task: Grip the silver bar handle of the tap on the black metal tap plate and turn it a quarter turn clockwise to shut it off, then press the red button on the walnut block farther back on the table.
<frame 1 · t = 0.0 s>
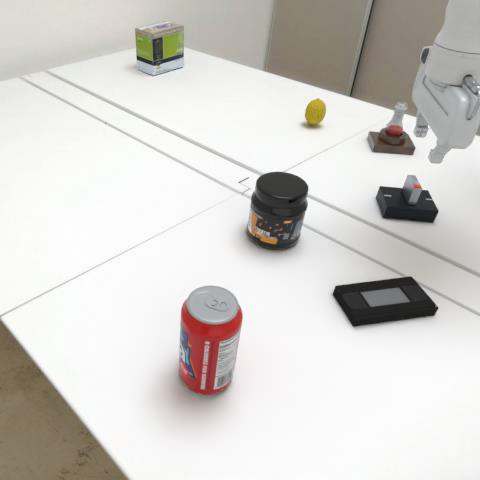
hand: (426, 148, 78), 20 cm above the table, tool pointing down, fingers open, 8 cm apart
tea box: (160, 69, 170), on the table
button block: (389, 146, 121), on the table
tap plate: (403, 209, 98), on the table
lemon: (312, 126, 131), on the table
soda can: (205, 375, 66), on the table
button: (394, 131, 118), point 4 cm above the table, slide at 0.1 cm
rook chess piece: (392, 131, 128), on the table
vhs tape: (381, 305, 77), on the table
supplement container: (272, 235, 92), on the table
tap handle: (411, 189, 95), point 5 cm above the table, hinge at 90.0°
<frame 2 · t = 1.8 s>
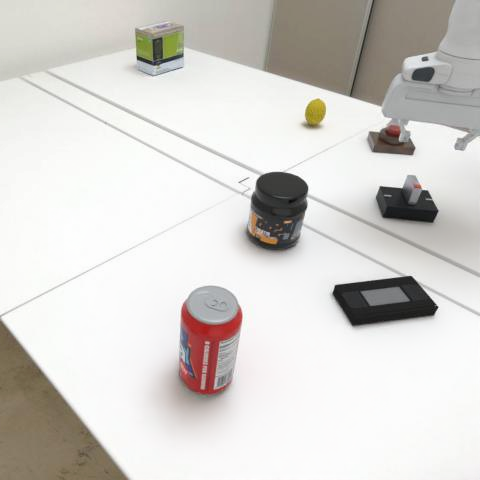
hand: (430, 145, 85), 17 cm above the table, tool pointing down, fingers open, 8 cm apart
nothing on the table moved.
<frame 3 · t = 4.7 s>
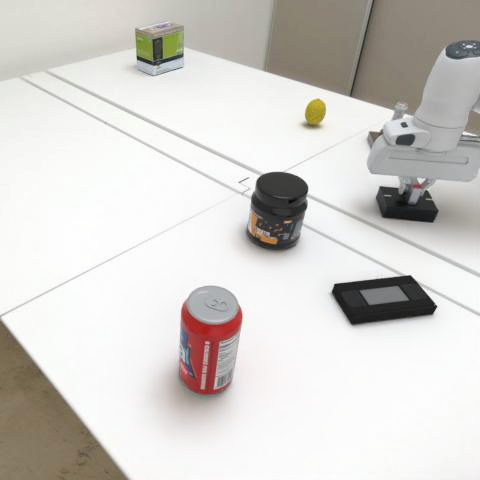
hand: (409, 193, 96), 4 cm above the table, tool pointing down, fingers closed on tap handle, 2 cm apart
tap handle: (411, 189, 95), point 5 cm above the table, hinge at 90.1°, touching gripper
everything else where it was.
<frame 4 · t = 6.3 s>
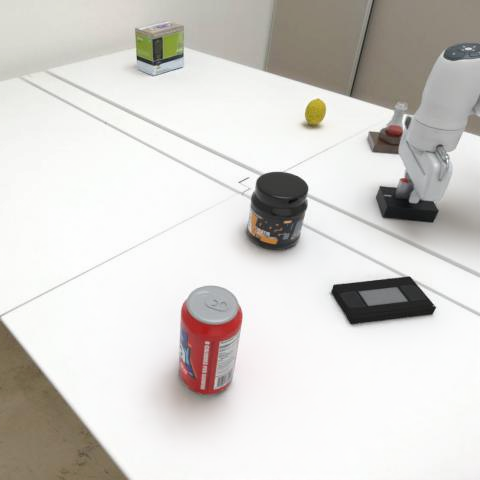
hand: (409, 195, 96), 4 cm above the table, tool pointing down, fingers open, 3 cm apart
tap handle: (411, 189, 95), point 5 cm above the table, hinge at 0.1°
everything else where it was.
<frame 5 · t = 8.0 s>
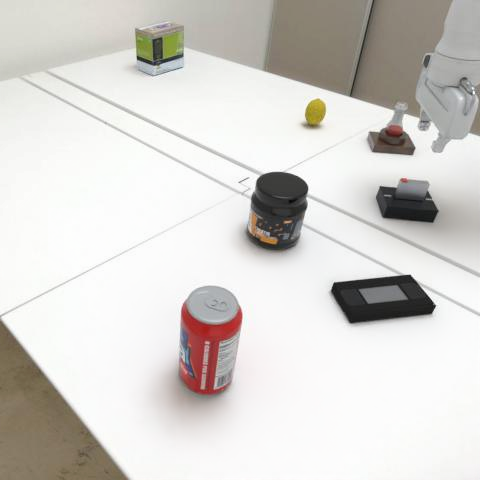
hand: (428, 139, 91), 15 cm above the table, tool pointing down, fingers open, 8 cm apart
nothing on the table moved.
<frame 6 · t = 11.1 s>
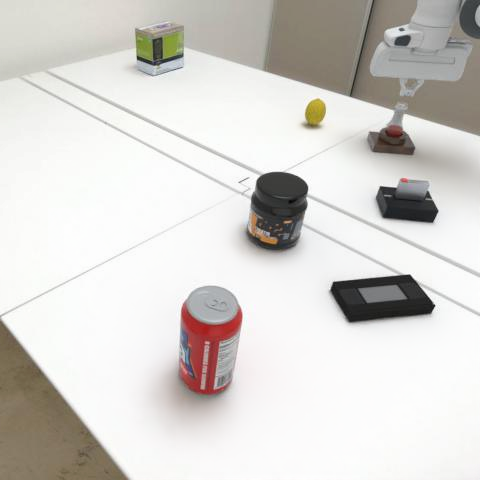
hand: (406, 95, 112), 14 cm above the table, tool pointing down, fingers closed
nothing on the table moved.
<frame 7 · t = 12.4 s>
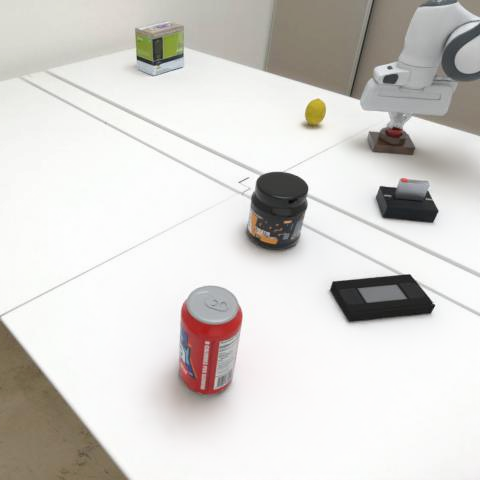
hand: (395, 127, 118), 5 cm above the table, tool pointing down, fingers closed, pressing on button
button: (394, 131, 118), point 4 cm above the table, slide at 0.1 cm, touching gripper
everything else where it was.
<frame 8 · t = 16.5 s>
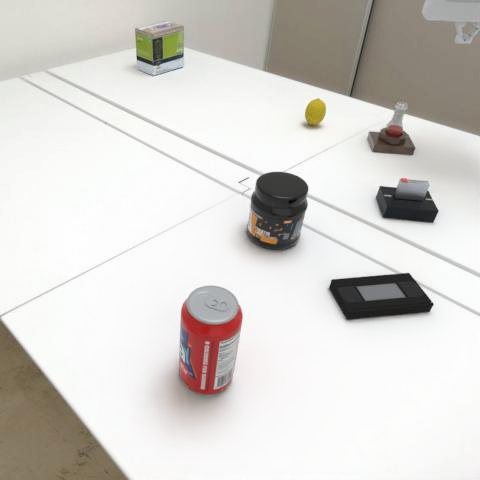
hand: (462, 43, 102), 27 cm above the table, tool pointing down, fingers closed
button: (394, 131, 118), point 5 cm above the table, slide at 0.1 cm
at the end: tap handle at +0° (first picture: +90°); button pushed in 1.1 cm at the most during the clip, back to where it started at the end; button slide at 0.1 cm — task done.
